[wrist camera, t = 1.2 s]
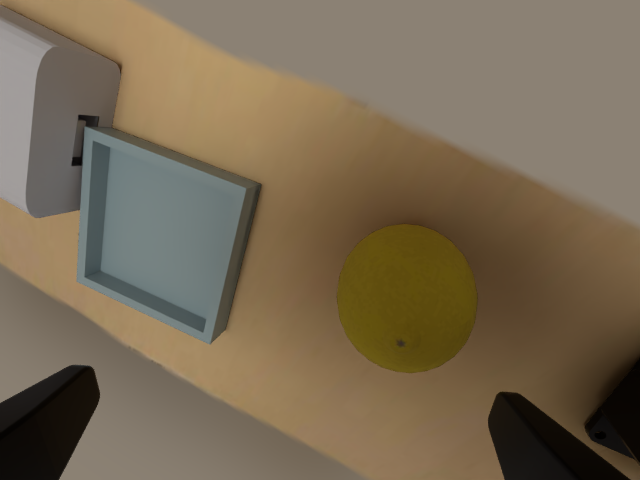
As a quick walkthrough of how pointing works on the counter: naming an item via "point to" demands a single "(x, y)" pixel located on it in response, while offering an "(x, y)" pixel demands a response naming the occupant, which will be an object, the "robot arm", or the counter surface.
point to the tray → (162, 231)
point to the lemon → (407, 298)
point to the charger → (48, 113)
